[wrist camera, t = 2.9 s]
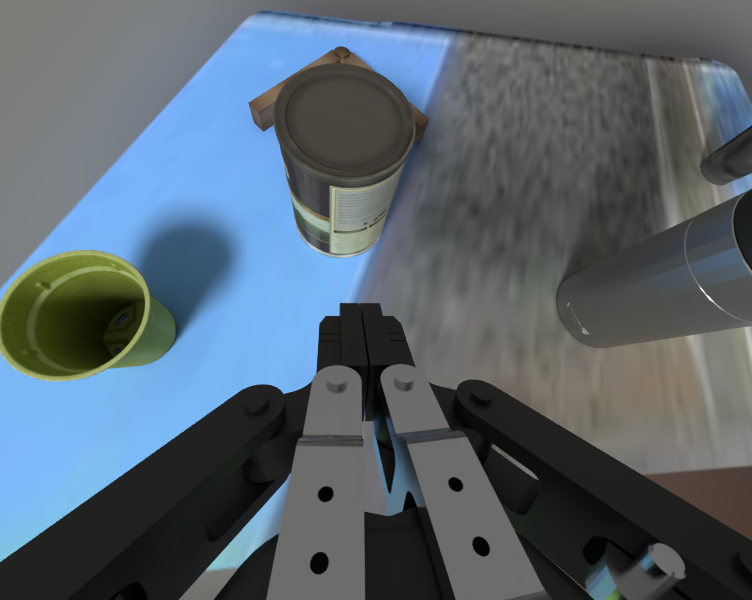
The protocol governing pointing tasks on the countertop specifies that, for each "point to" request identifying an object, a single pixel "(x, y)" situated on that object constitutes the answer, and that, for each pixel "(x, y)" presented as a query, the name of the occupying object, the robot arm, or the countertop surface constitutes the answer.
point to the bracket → (266, 101)
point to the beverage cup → (730, 160)
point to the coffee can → (342, 153)
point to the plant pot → (82, 318)
